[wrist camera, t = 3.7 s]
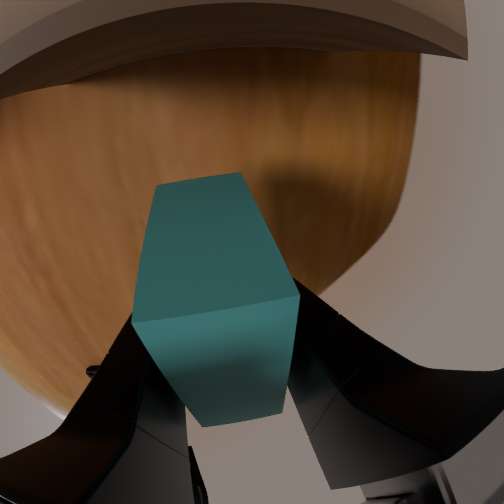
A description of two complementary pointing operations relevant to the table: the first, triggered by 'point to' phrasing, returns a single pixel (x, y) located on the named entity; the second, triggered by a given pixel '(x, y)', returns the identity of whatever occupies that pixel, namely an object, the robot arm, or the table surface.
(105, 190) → the table surface
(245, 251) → the teal block
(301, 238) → the table surface
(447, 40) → the wooden box
